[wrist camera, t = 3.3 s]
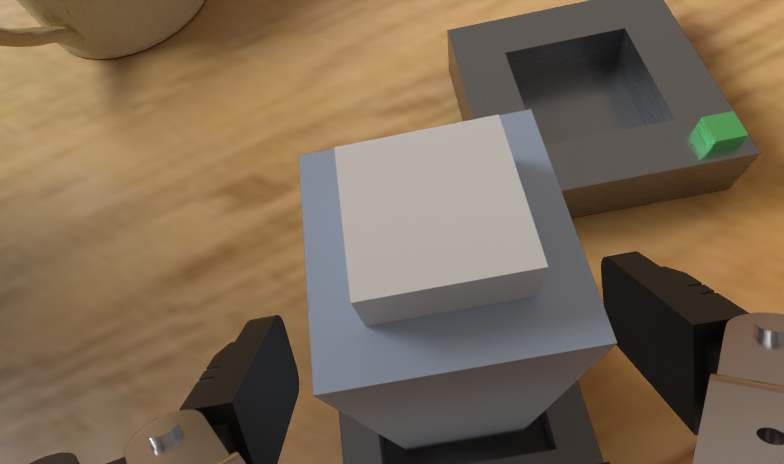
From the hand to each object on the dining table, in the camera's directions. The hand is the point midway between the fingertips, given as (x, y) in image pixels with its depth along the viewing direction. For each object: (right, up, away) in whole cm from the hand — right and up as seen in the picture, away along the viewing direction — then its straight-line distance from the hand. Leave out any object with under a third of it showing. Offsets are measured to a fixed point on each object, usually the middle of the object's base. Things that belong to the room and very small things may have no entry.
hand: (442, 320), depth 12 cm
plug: (+1, -3, +6) cm, 7 cm away
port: (+7, +7, +11) cm, 15 cm away
